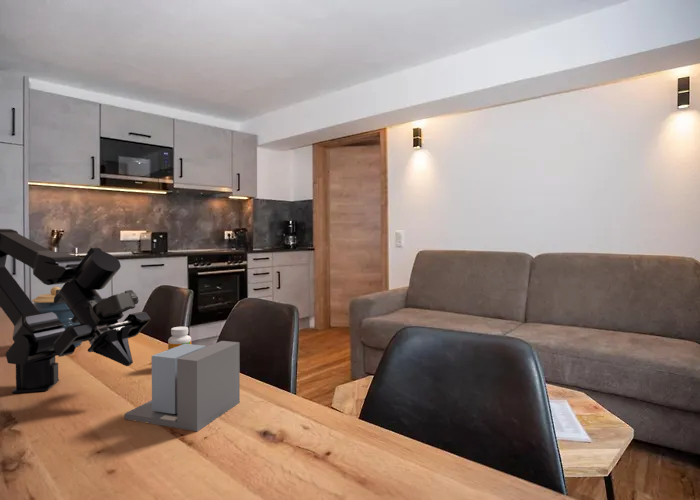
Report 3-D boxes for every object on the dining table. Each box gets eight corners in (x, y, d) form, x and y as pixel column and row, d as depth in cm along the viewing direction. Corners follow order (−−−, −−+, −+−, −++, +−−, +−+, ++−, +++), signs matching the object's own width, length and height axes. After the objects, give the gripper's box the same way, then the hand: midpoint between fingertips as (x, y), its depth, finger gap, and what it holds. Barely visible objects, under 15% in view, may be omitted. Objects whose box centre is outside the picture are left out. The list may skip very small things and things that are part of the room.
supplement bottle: (183, 370, 103) (183, 331, 103) (163, 369, 104) (163, 329, 104) (195, 364, 109) (195, 326, 108) (176, 362, 110) (176, 325, 109)
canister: (83, 348, 123) (82, 287, 122) (27, 355, 116) (26, 290, 115) (81, 339, 134) (81, 283, 133) (30, 344, 126) (29, 285, 126)
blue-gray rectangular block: (152, 410, 77) (151, 355, 76) (185, 393, 85) (185, 343, 85) (174, 414, 75) (174, 358, 75) (206, 396, 84) (206, 345, 83)
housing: (124, 419, 76) (123, 352, 76) (174, 393, 88) (174, 336, 88) (197, 431, 71) (196, 360, 71) (239, 402, 84) (239, 342, 83)
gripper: (65, 282, 76) (114, 350, 73) (144, 274, 93) (186, 328, 91) (32, 323, 78) (78, 390, 75) (115, 308, 96) (155, 361, 93)
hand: (130, 364), depth 83 cm, fingers closed
